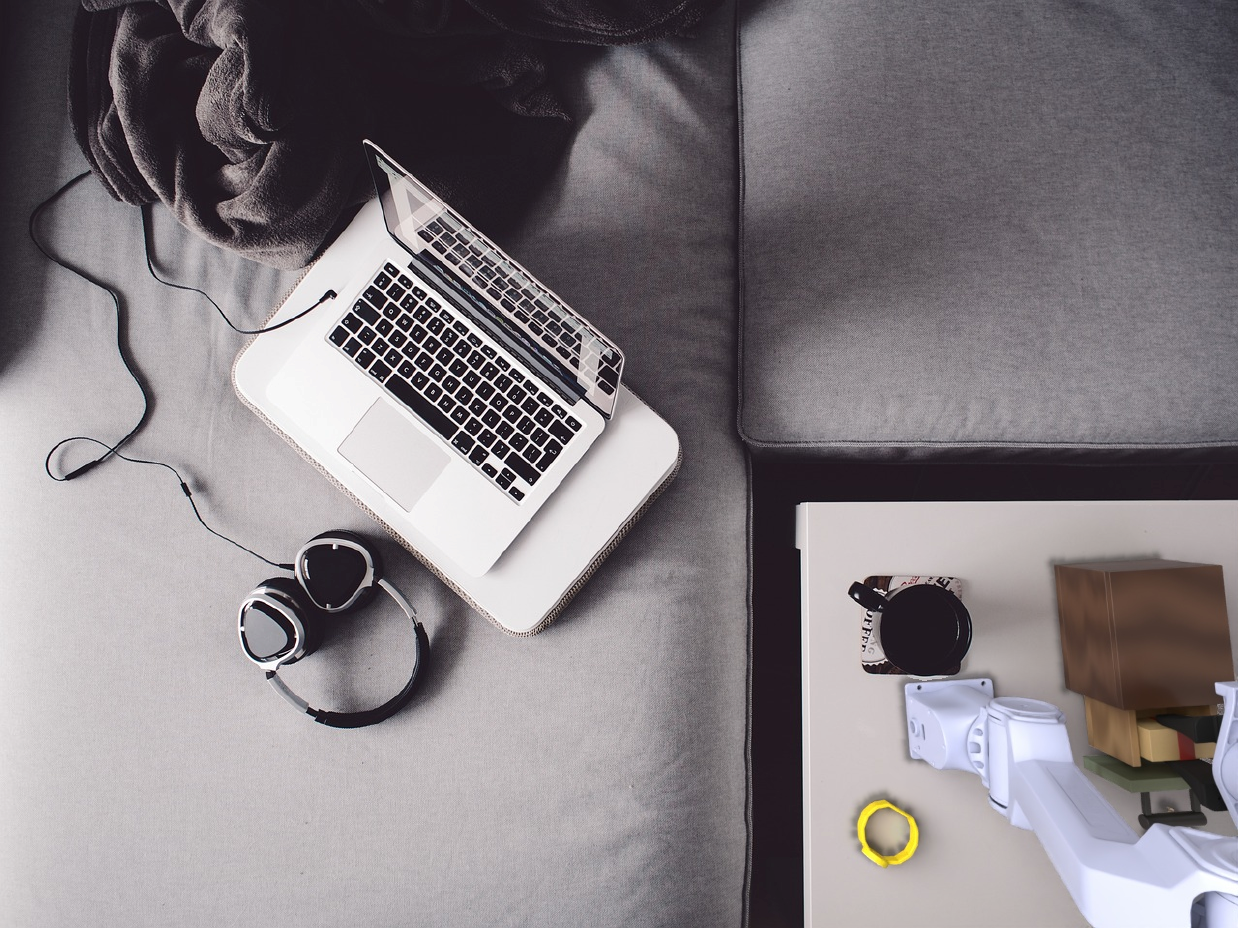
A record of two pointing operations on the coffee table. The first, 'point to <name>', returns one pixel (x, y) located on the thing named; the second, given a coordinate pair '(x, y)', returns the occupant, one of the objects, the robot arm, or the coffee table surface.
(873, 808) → the yellow rubber band ring
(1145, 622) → the cabinet
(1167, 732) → the tan red striped block
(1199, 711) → the pullout
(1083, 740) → the coffee table surface
